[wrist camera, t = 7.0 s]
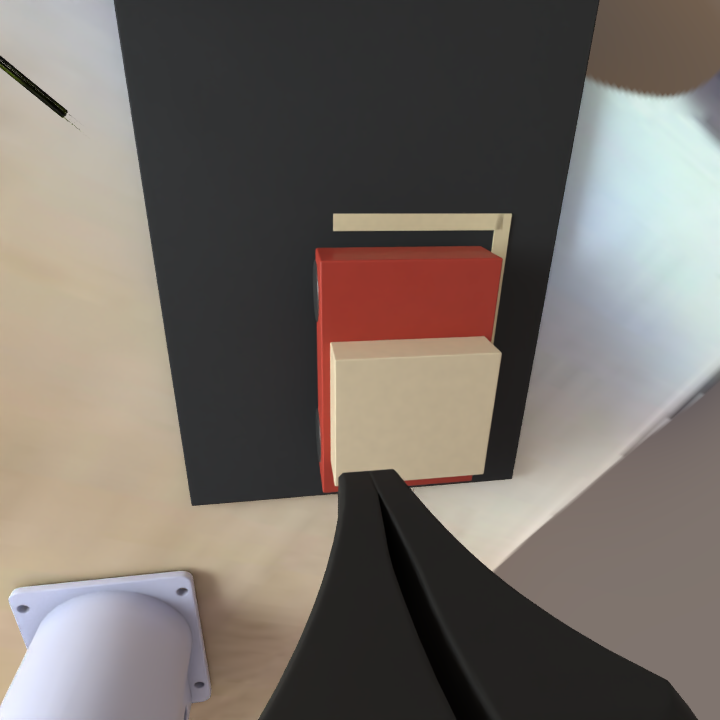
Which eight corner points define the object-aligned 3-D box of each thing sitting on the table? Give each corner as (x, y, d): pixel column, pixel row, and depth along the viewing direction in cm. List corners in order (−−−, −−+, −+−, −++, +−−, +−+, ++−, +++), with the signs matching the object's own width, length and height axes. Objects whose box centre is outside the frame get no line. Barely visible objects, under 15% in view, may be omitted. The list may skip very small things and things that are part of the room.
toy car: (316, 450, 21) (450, 440, 22) (324, 521, 17) (487, 506, 18) (312, 242, 18) (473, 240, 19) (321, 273, 14) (526, 269, 15)
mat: (507, 472, 24) (512, 480, 24) (193, 498, 22) (191, 507, 22) (596, -27, 16) (607, -32, 16) (108, -64, 14) (101, -72, 13)
